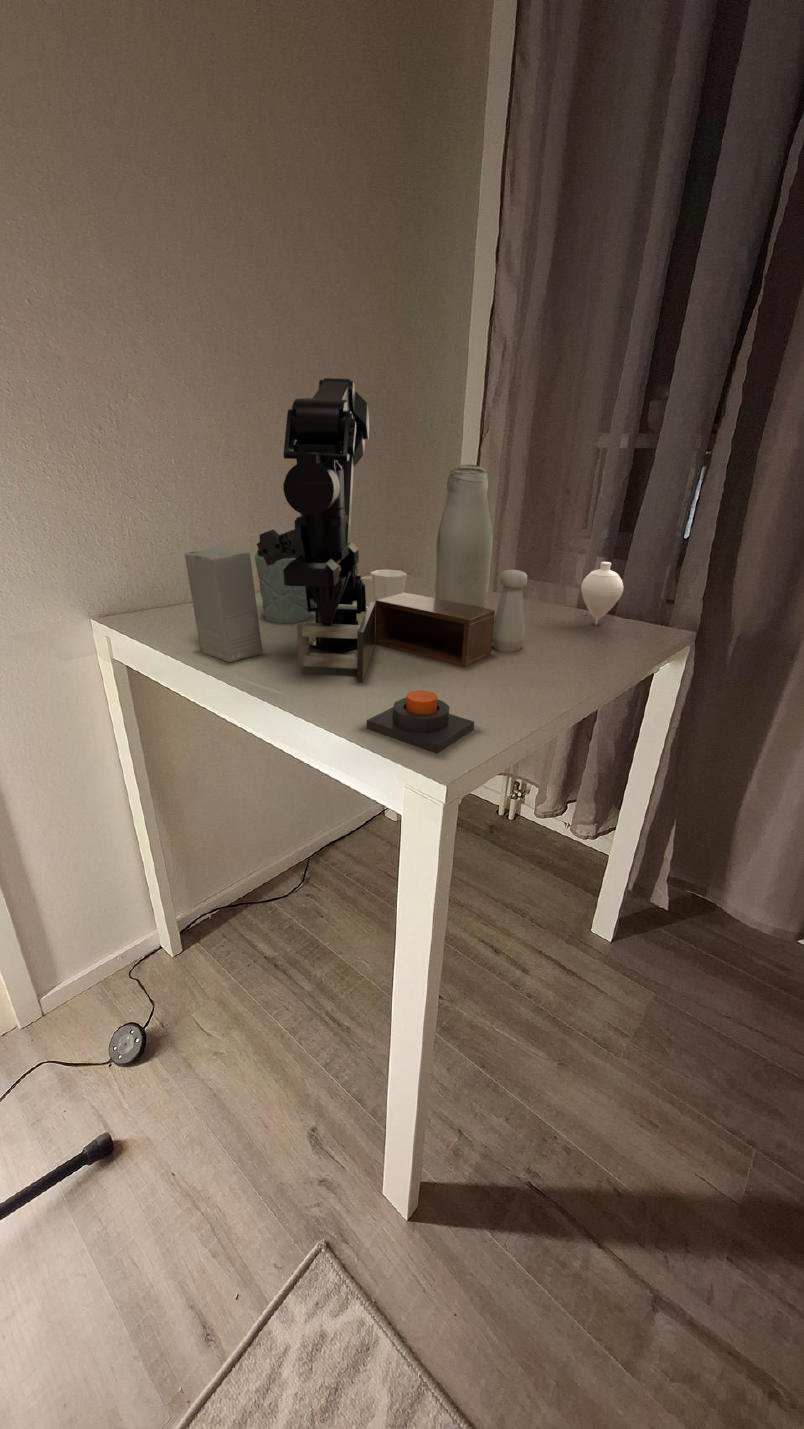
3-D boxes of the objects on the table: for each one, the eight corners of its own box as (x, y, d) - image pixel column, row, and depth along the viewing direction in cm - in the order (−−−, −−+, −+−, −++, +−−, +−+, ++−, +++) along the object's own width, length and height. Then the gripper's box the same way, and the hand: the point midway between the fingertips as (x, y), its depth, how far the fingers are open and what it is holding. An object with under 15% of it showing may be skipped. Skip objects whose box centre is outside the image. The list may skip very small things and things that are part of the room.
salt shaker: (523, 656, 100) (532, 575, 95) (487, 652, 101) (495, 573, 96) (523, 645, 105) (532, 569, 100) (490, 642, 106) (497, 566, 101)
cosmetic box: (263, 655, 96) (257, 552, 90) (223, 665, 91) (213, 557, 85) (233, 643, 101) (225, 544, 95) (193, 652, 96) (182, 548, 90)
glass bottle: (468, 611, 126) (479, 463, 115) (494, 624, 118) (509, 466, 106) (424, 614, 122) (431, 462, 111) (448, 628, 114) (459, 465, 102)
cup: (404, 619, 119) (405, 577, 115) (352, 616, 119) (352, 574, 116) (406, 610, 125) (407, 570, 122) (357, 607, 125) (357, 567, 122)
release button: (399, 710, 72) (400, 696, 71) (417, 701, 74) (418, 687, 74) (425, 718, 70) (426, 704, 69) (442, 709, 72) (443, 695, 72)
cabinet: (465, 668, 94) (469, 619, 91) (375, 645, 103) (375, 600, 100) (490, 656, 100) (495, 609, 96) (403, 634, 109) (404, 592, 106)
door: (295, 679, 87) (293, 628, 84) (317, 642, 103) (316, 598, 100) (362, 682, 86) (363, 631, 83) (375, 645, 102) (375, 601, 99)
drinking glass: (323, 618, 117) (322, 554, 112) (281, 628, 110) (278, 560, 105) (289, 608, 123) (287, 547, 118) (247, 617, 116) (243, 552, 111)
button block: (366, 729, 73) (366, 706, 71) (405, 708, 79) (406, 687, 77) (437, 754, 67) (438, 729, 66) (473, 730, 73) (475, 707, 72)
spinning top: (584, 617, 124) (593, 557, 119) (621, 624, 120) (633, 562, 115) (569, 625, 119) (579, 562, 114) (608, 632, 114) (620, 567, 110)
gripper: (282, 501, 89) (289, 607, 95) (236, 513, 72) (248, 642, 78) (358, 502, 88) (360, 610, 94) (330, 515, 71) (335, 645, 77)
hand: (327, 625), depth 86 cm, fingers closed, pressing on door
